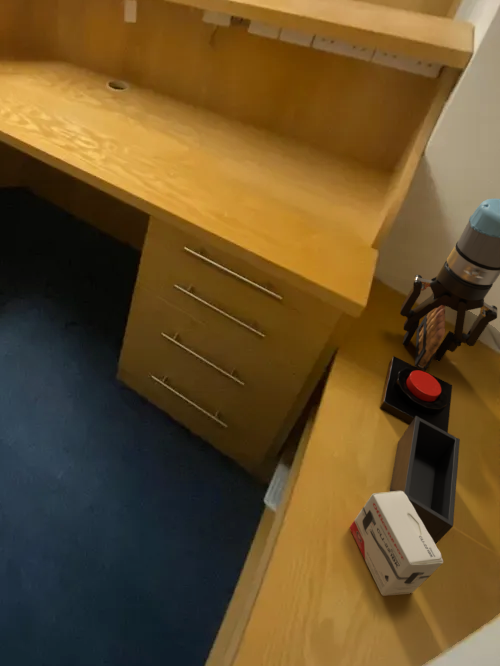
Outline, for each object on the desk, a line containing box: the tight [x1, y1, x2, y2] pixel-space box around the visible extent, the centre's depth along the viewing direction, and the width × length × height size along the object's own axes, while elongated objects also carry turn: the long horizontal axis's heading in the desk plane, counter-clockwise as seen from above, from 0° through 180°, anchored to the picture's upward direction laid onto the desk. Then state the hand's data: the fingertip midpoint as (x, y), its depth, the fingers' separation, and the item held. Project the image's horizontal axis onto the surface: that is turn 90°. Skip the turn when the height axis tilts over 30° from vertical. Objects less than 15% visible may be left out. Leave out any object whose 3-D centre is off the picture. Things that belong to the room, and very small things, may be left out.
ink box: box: [349, 491, 444, 597], centre depth 74 cm, size 8×5×12 cm, turn 5°
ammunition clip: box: [414, 305, 446, 372], centre depth 104 cm, size 11×2×12 cm, turn 146°
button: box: [406, 370, 441, 402], centre depth 95 cm, size 5×5×2 cm
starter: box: [379, 355, 453, 433], centre depth 97 cm, size 12×10×4 cm
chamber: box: [388, 416, 461, 546], centre depth 82 cm, size 6×15×8 cm, turn 142°
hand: (421, 348), depth 107 cm, fingers open, 5 cm apart
